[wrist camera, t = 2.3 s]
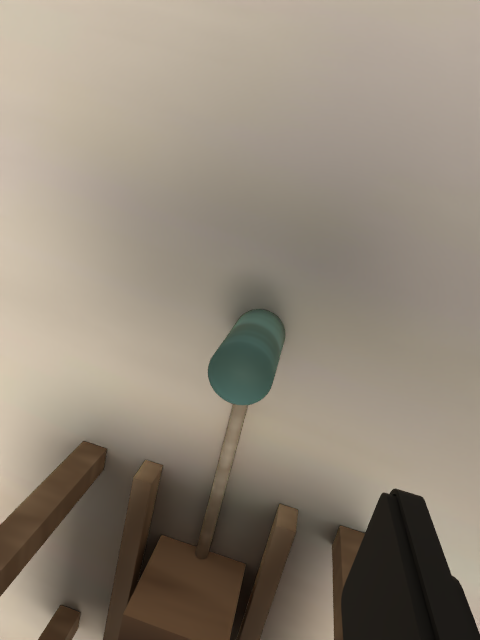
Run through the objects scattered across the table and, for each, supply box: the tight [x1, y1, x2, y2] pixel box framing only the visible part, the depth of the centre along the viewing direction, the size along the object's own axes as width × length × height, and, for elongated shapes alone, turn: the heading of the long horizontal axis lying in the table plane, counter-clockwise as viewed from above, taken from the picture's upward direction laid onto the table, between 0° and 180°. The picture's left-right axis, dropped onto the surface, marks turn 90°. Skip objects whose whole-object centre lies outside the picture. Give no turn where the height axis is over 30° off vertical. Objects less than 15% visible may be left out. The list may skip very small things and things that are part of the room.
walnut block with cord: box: [118, 309, 285, 640], centre depth 21 cm, size 19×5×5 cm, turn 167°
